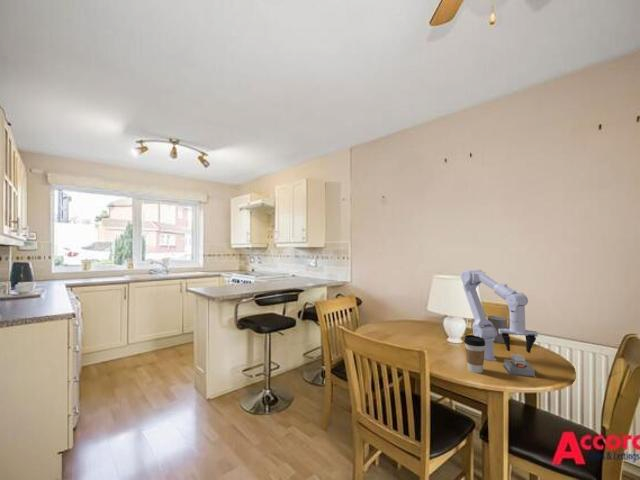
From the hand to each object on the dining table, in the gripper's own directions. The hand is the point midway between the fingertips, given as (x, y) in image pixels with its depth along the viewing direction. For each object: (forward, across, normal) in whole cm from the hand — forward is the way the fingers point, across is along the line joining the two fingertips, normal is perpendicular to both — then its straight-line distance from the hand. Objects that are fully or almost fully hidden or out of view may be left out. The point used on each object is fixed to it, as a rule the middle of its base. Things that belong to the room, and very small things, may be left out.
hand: (518, 351), depth 127 cm
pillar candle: (+9, +3, +44) cm, 45 cm away
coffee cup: (+9, -18, -4) cm, 21 cm away
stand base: (+9, 0, 0) cm, 9 cm away
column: (+9, 0, 0) cm, 9 cm away
